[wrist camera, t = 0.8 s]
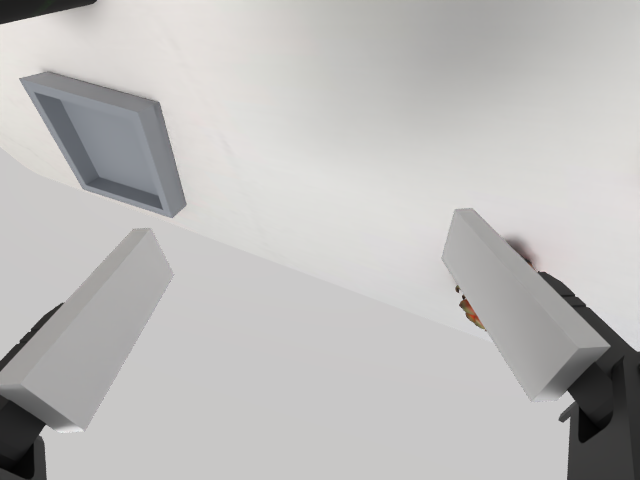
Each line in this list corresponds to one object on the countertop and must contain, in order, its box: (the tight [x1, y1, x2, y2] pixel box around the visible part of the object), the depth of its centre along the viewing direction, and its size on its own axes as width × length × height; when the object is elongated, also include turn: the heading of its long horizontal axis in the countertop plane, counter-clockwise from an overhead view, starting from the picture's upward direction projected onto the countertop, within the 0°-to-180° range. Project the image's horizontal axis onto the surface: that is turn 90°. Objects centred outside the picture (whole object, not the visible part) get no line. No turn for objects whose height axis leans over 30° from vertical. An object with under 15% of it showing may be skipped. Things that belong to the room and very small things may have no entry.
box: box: [19, 72, 186, 218], centre depth 39 cm, size 16×16×4 cm
